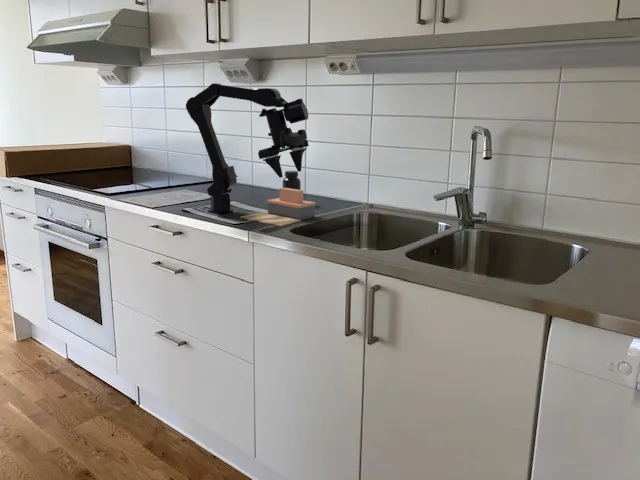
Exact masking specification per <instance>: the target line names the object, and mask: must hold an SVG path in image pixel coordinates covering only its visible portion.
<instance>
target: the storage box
mask: <svg viewBox="0 0 640 480" xmlns="http://www.w3.org/2000/svg"><path fill="white" fill-rule="evenodd" d="M315 209H316V205H312V206H308V207H303V208H295V207H290V206H284V205H279V204H273V203H268V202H267V214H272V215H277V216H282V217H287V218H293V219H298V220H300V219H302V220H305V219H304V218H306V219H309V217H310V218H313V217H312V216H316V215H315V213H316V212H315Z"/></svg>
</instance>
